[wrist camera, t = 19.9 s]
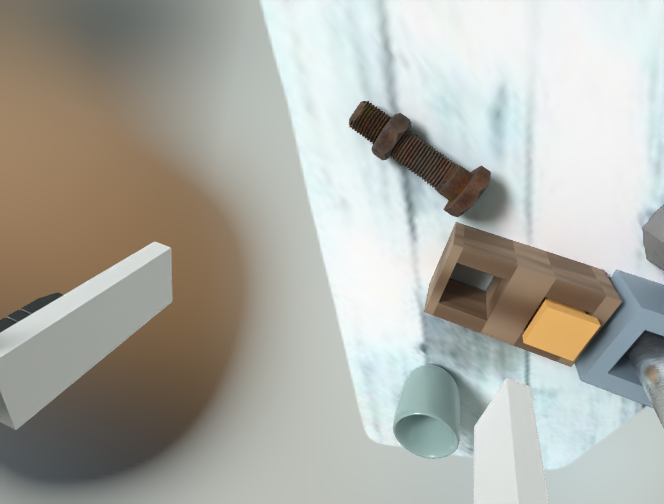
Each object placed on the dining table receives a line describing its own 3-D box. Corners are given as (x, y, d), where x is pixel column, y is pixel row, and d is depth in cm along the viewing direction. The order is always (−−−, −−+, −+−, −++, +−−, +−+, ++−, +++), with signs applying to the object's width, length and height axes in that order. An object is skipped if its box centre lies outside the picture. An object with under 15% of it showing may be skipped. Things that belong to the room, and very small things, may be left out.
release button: (537, 272, 41) (547, 306, 36) (583, 287, 40) (600, 325, 35) (517, 305, 44) (523, 342, 38) (560, 320, 43) (572, 361, 37)
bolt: (369, 102, 42) (479, 181, 42) (342, 139, 42) (451, 218, 42) (371, 80, 36) (499, 171, 36) (340, 123, 37) (467, 214, 36)
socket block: (455, 222, 43) (453, 244, 38) (603, 270, 40) (622, 301, 35) (429, 284, 48) (423, 311, 43) (560, 331, 45) (571, 366, 40)
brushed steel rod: (603, 326, 43) (661, 451, 30) (624, 299, 41) (697, 420, 27) (641, 339, 42) (718, 473, 29) (664, 313, 40) (759, 443, 27)
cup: (429, 404, 57) (421, 465, 48) (394, 369, 56) (380, 425, 47) (473, 385, 53) (473, 449, 44) (435, 347, 52) (428, 404, 43)
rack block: (616, 269, 40) (641, 307, 34) (710, 300, 38) (753, 345, 32) (566, 337, 45) (580, 380, 39) (648, 367, 43) (675, 416, 37)
